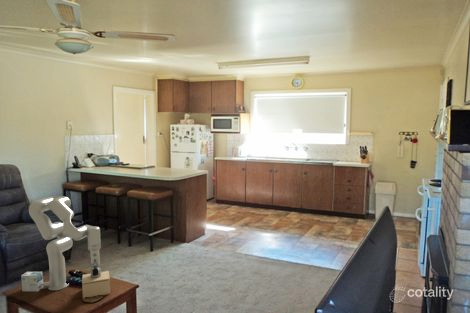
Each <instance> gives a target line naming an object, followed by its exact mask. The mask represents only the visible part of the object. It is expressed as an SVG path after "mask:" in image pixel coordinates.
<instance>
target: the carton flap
mask: <svg viewBox="0 0 470 313" xmlns="http://www.w3.org/2000/svg"><path fill="white" fill-rule="evenodd" d="M109 279H111V278H110V270H107V271H101V276H100V277H99V278H91V273H86V274H82V279H81V283H82V284H84V283H91V282H97V281H103V280H109ZM82 284H81V285H82Z"/></svg>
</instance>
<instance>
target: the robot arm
mask: <svg viewBox="0 0 470 313" xmlns="http://www.w3.org/2000/svg"><path fill="white" fill-rule="evenodd" d="M71 206H72V200H71V199H70V198H69V197H68V196H65V195H64V196H62V195H61V196H56V195H54V196H48V197H43V198H39V199H36V200H35V201H32V202H31V203H30V204H29V207H28V214H29V216H30V218H31V219H32V220H33V222H34V223H35V225H36V228H37V229H38V231H39V233H40V235H41V237H42V238H43V239H44V240H46V241H49V240H51V241H50V242H48V243H47V245H46V248H45V249H46V250H45V251H46V253H47V258H48V266H49V270H48V271H49V280H48V281H43V286H44V287H47V289H48V290H49V291H60V290H63V289H66V288H68V287H69V285H70V283H68V284H67V283H66V281H67V274H66V273H67V272H66V270H67V269H66V260H65V259H66V258H65V256H64V255H63V252H65V251H68V250H70V249H71V248H72V247H73V246H74V245H73V241H81V240H82V239H85V238H87V250H88V251H89V252H90V262H91V267H92V268H93V276H95V275H98V267H99V266H100V264H101V258H100V257H101V256H100V249H101V248H102V243H101V241H102V240H101V228H100V227H99V226H93V225H89V224H84V225H82V226H79V227H75V225H74V224H73V223H72V221H71V220H72V218H74V216H75V212H74V211H73V210H72V209H71V208H70V207H71ZM46 211H51V212H52V213H53V214H54V215H55V216H56V217H57V218H58V219H60V220H61V221H56V222H52V220H51V219H50V217H49V216H48V215H47V214H46V213H44V212H46ZM55 238H56V239H55ZM52 239H53V240H52Z"/></svg>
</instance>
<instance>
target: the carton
mask: <svg viewBox="0 0 470 313" xmlns="http://www.w3.org/2000/svg"><path fill="white" fill-rule="evenodd" d="M110 279H111V278H110ZM110 279H109V280H103V281H97V282H91V283H84V284H81V285H82V286H81V287H82V289H81V290H82V299H83V298H84V299H86V298H85V297H90V298H92V297H91V296H96V297H98V296H97V295H102V296H106V295H111V280H110Z"/></svg>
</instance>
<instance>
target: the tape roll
mask: <svg viewBox="0 0 470 313" xmlns="http://www.w3.org/2000/svg"><path fill="white" fill-rule="evenodd" d="M101 272H102V270H101V267H100V266H98V275H95V276H93V267H92V268H90V274H91V278H99V277H100V276H101Z"/></svg>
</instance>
